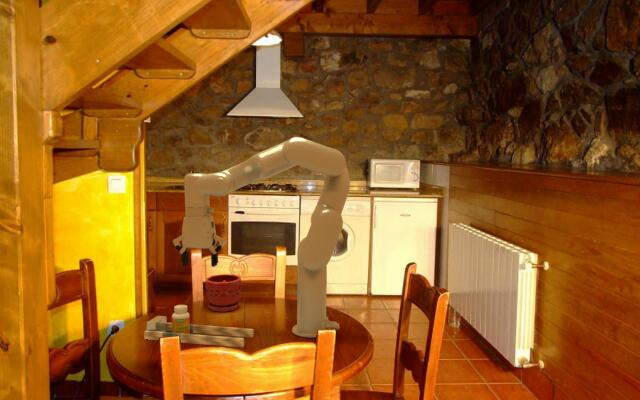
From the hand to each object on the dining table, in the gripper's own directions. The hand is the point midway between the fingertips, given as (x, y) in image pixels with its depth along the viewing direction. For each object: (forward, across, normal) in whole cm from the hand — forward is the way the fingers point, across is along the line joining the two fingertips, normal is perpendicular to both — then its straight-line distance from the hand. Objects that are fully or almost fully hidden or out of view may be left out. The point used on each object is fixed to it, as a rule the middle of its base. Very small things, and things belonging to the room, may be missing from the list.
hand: (200, 265), depth 164 cm
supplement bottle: (+22, +6, +4) cm, 23 cm away
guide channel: (+22, -1, +4) cm, 22 cm away
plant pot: (+23, +4, -29) cm, 37 cm away
